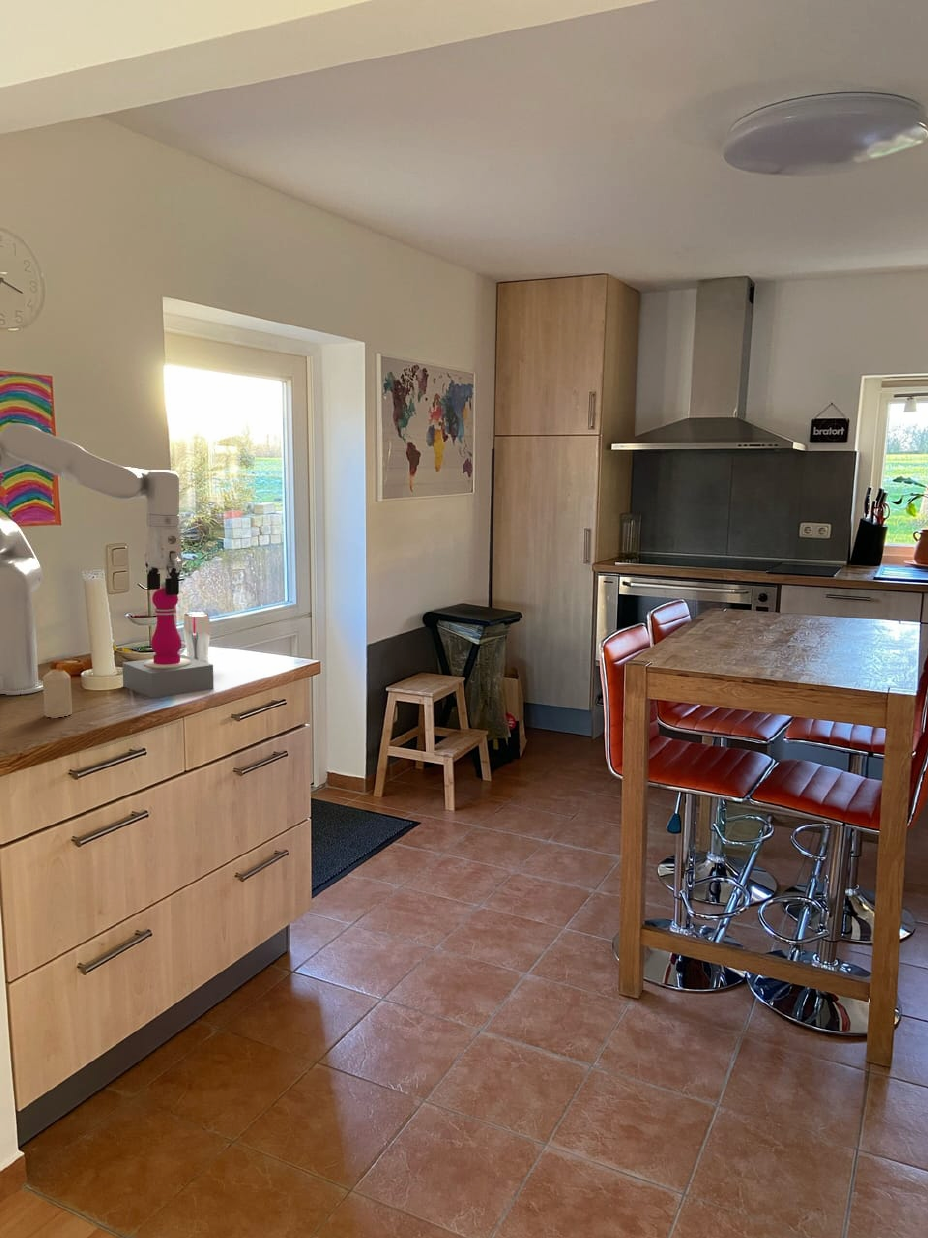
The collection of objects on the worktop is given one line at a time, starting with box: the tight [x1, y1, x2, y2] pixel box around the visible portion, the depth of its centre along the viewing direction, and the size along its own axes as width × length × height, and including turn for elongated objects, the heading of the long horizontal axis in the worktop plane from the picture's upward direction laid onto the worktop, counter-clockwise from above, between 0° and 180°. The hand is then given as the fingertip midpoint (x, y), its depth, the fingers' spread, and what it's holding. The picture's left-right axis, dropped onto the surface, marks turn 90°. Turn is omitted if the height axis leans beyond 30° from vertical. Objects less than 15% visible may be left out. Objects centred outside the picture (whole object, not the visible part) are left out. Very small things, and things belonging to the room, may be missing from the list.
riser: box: [121, 654, 215, 699], centre depth 224 cm, size 16×16×6 cm
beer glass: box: [182, 612, 211, 663], centre depth 245 cm, size 7×7×15 cm
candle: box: [42, 668, 73, 719], centre depth 196 cm, size 6×6×10 cm
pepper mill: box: [150, 581, 182, 665], centre depth 222 cm, size 7×7×20 cm
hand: (162, 592), depth 220 cm, fingers open, 9 cm apart
